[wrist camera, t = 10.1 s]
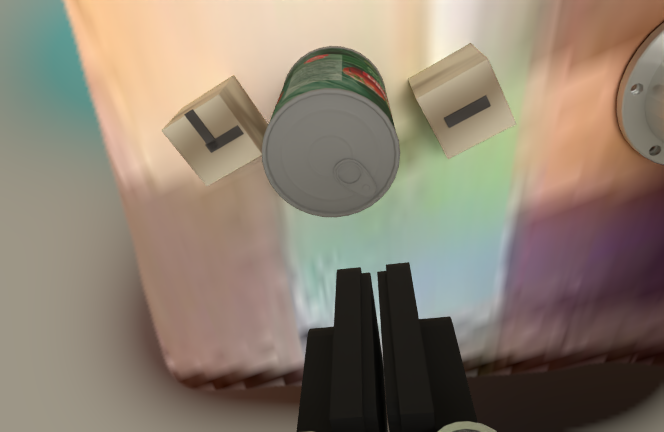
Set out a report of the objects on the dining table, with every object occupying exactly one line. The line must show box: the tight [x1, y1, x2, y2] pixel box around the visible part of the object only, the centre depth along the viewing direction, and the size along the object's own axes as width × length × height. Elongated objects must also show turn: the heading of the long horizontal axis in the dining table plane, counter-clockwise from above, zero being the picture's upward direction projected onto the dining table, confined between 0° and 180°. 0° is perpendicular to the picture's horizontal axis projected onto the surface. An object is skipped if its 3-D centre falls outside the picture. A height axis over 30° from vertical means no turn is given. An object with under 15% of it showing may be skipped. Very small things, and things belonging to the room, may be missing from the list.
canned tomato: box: [262, 46, 400, 217], centre depth 32 cm, size 8×8×11 cm
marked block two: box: [162, 75, 268, 186], centre depth 36 cm, size 5×5×5 cm
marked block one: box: [408, 43, 516, 159], centre depth 34 cm, size 5×5×5 cm
